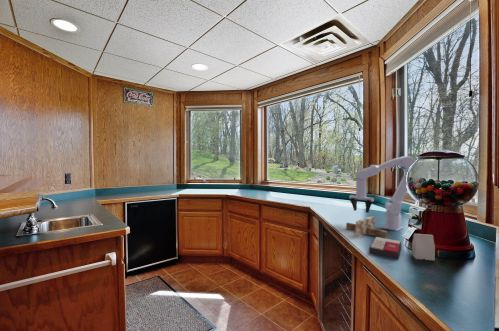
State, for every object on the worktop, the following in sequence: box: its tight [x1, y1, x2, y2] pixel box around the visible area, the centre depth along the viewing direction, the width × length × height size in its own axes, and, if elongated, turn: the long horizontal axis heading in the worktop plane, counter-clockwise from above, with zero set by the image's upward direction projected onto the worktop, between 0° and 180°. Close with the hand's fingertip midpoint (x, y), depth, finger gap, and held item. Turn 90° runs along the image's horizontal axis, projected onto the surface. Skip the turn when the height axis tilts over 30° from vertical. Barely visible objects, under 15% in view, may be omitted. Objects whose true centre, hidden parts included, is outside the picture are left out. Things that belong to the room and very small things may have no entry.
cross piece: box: [355, 216, 376, 238], centre depth 131 cm, size 18×2×8 cm, turn 128°
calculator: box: [369, 236, 402, 260], centre depth 105 cm, size 11×4×15 cm
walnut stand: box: [345, 222, 388, 239], centre depth 131 cm, size 22×2×4 cm, turn 38°
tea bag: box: [411, 233, 436, 262], centre depth 98 cm, size 4×7×10 cm, turn 72°
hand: (361, 211), depth 144 cm, fingers open, 7 cm apart
